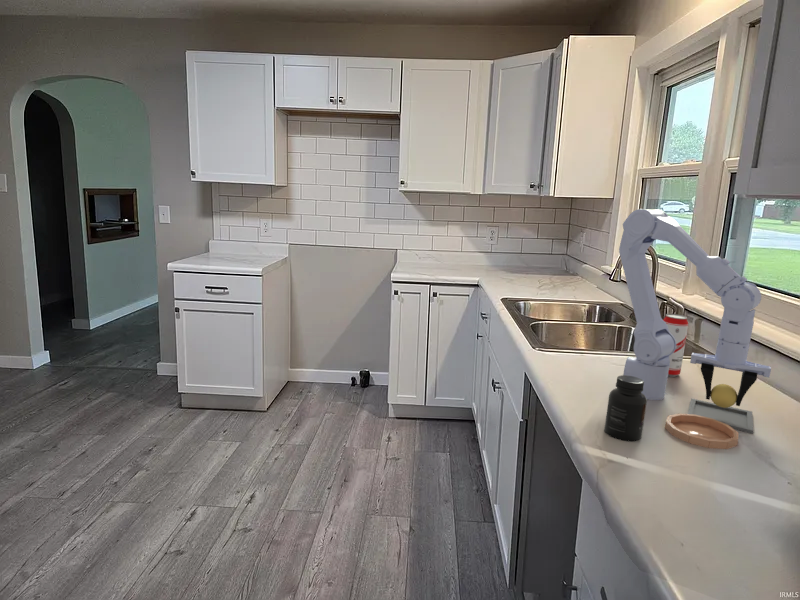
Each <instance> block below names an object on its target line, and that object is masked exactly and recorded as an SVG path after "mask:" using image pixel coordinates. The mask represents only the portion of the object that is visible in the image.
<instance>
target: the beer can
mask: <svg viewBox="0 0 800 600" xmlns="http://www.w3.org/2000/svg"><path fill="white" fill-rule="evenodd" d="M662 320H663V321H664V322H665V323H666V324H667V325H668V329H669V331H670V333H671V334H672V335H673V337H674V338H675V340H676V349H675V351H674V353H673V354H671V355H669V360H670V366H669V372H668V377H671V378H672V377H673V378H675V377H678V376H679V375H680V374H681V373H682V372H681V371H682V364H683V359H684V354H685V353H684V352H685V347H686V340H687V335H688V329H689V321H688V317H687V316H686V315H682V314H676V313H666V314H665V317H664V318H662Z"/></svg>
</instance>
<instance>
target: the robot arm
mask: <svg viewBox="0 0 800 600" xmlns="http://www.w3.org/2000/svg"><path fill="white" fill-rule="evenodd" d="M622 228H623V231H622V235H621V238H620V239H621V240H620V244H619V248H618V253H619V258H620V261H621V264H622V265H621V266H622V270H623V273H624V277H625V281H626V284H627V289H628V292H629V297H630V301H631V305H632V309H633V313H634V317H635V321H636V325H635V328H634V331H633V336H634V343H633V353H634V355H635V357H633V356H627V358H626V360H625V364H624V368H623V374H622V375H627V376H633V377H637V378H640V379H642V380H643V381H644V386H643V391H642V392H641V393H643V394H644V395H645V397H646V399H647V400H650V401H661V400H664V398H665V395H668V394H667V393H666V389H667V383H668V377H669V376H668V372H669V366H670V360H669V355H671V354H673V353H674V351H675V349H676V340H675V338H674V337H673V335H672V334H671V333H670V331H669V329H668V325H667V324H666V323H665V322H664V321H663V318H662V315H661V311H660V307H659V303H658V300H657V296H656V293H655V288H654V283H653V281H652V275H651V272H650V268H649V265H648V260H647V257H646V252H647V251H648V249H649V248H650V247H651V245H652V244H653V242H655V241H657V240H658V241H663V242H667V243H669V244H670V245H671V246H673V247H674V248H675V249H676V250H677V251H678V252H680V254H682V255H683V256H684V257H685V258H686V259H688V260H689V261H690V262H691V263H692V264H693V265H694V266H695V268H696V270H695V271H696V276H697V277H698V278H699V279H700V280H701V281H702V282H703V283H704V284H705V285H706V286H707V287H708V288H709V289H710V290H712V292H713V293H715V294H716V295H717V297H720V301H721V304H722V307H723V314H722V317H721V322H720V328H719V334H718V337H717V343H716V349H715V354H707V353H705V354H704V353H699V352H698V353H696V352H691V355H690V362H689V363H690V364H695V365H696V364H698V365H700V371H701V372H700V373H701V375H702V378H703V381H704V385H705V393H706V394H705V400H707V401H709V400H710V399H711V396H710V394H711V390H712V383H713V375H714V371H715V368H720V369H723V370H724V369H726V370H731V371H736V372H741V379H740V384H739V389H738V393H737V401H736V403H735V406H738V407H740V406H741V404H742V401H743V400H744V399H743V398H744V397H745V395H746V394H747V392H748V391H749V390H750V388H751V387H752V386H753V385H754V384H755V383H756V381H757V380H758V376H762V377H764V378H770V376H771V372H772V367H771V366H769V365H765V364H761V363H755V362H751V361H748V354H749V349H750V344H751V338H752V333H753V328H754V322H755V321H754V320H755V315H756V309H755V308H757V307H758V306H759V304H760V303H761V300H762V293H761V290H760V289H759V288H758V286H757V285H756V284H755V283H753V282H749V281H748V278H747V277H746V276H744V275H743V276H742V275H740V274H739V273H737V271H735V270H734V269H733V268H732V266H730V265H729V264H730V263H731V262H730V260H729V259H727V258H721V257H720V256H718V255H717V256H716V255H715V256H714V255H713V256H712V255H711V256H710V255H709V254H708V253H707V251H705V250H704V249H703V247H701V245H699V244H698V243H697V242H696V240H694V238H692V237H691V235H690V234H689V233H688V232H687V231H686V230H685V229H684V228H683V227H682V226H681V225H680V224H679V223H678V222H677V220H675V219H674V218H673V217H671V216H669V215H668V214H667V212H665V211H664V210H662V209H658V208H657V209H656V208H655V209H645V208H638V209H635V210H633V211H632V212H630V214H629V215H628V216H627V217H626V219H625V220H624V221H623V223H622ZM747 281H748V282H747Z"/></svg>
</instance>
